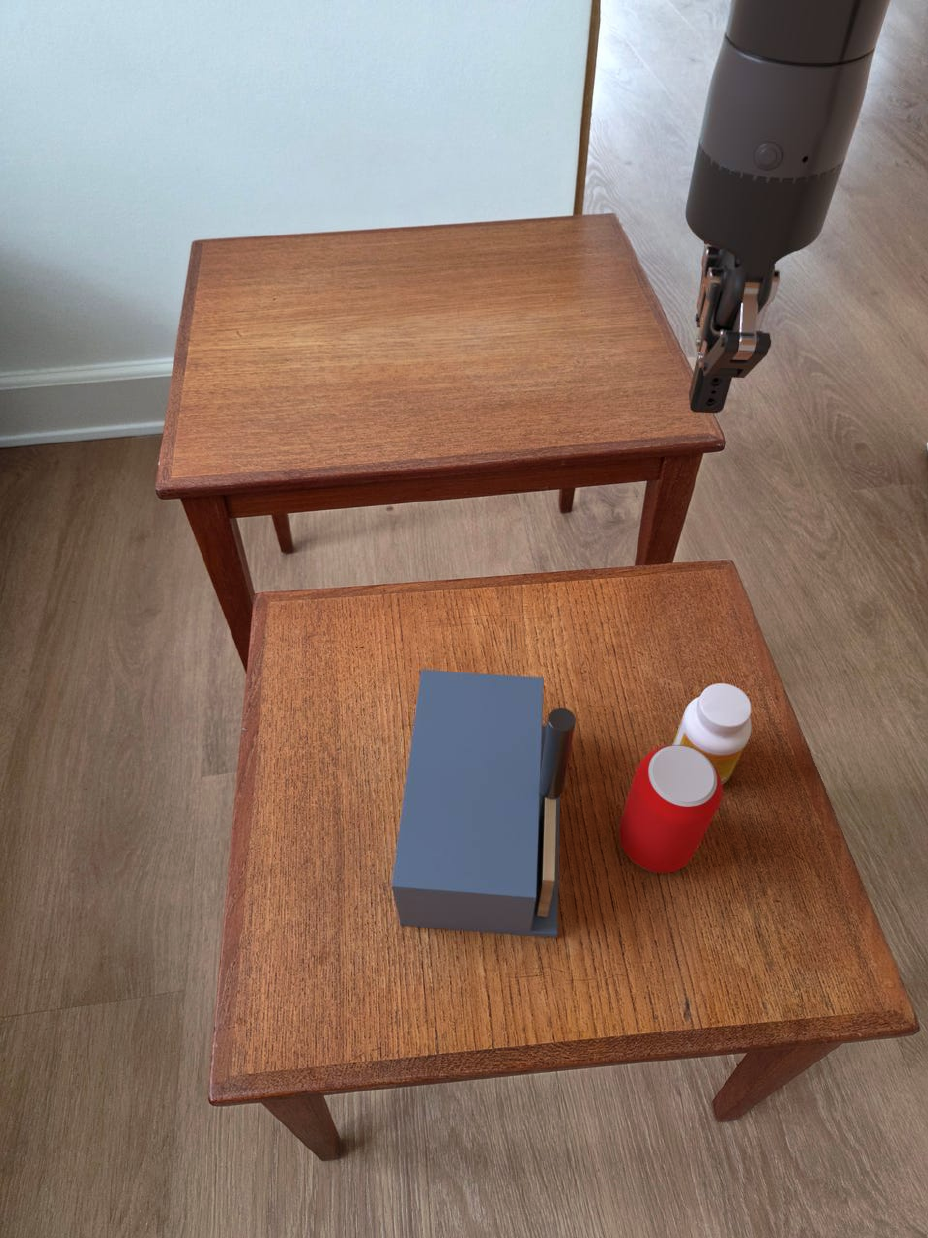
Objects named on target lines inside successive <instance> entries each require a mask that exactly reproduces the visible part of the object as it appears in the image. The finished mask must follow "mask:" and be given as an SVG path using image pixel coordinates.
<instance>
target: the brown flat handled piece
mask: <svg viewBox="0 0 928 1238" xmlns="http://www.w3.org/2000/svg"><path fill="white" fill-rule="evenodd" d="M546 721H547V722H546V725H547V729H546V737H545V744H544V752H543V760H542V768H541V776H540V783H539V790H540V793H541V794H542V795H543V798H542V805H541V812H540V838H539V868H538V899H537V916H543V917H547V916H548V911H549V906H550V901H551V896H552V891H553V886H554V881H555V844H556V798H558V797H560V798H561V796H562V795H563V793H564V790H565V784H566V778H567V773H568V767H569V764H570V763H569V762H570V757H571V751H572V747H573V746H572V745H573V740H574V735H575V730H576V724H577V718H576V715H575V714H574V712H573V711H571V710H570V709H568V708H566V707H556V708H554V709H552V710H551V711H550V712H549V713H548V716H547V720H546Z"/></svg>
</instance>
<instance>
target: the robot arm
mask: <svg viewBox="0 0 928 1238" xmlns="http://www.w3.org/2000/svg"><path fill="white" fill-rule="evenodd" d="M890 3H891V0H730V4H729V9H728V14H727V19H726V25H725V31H724V33H723V39H722V42H721V47H720V50H719V53H718V56H717V59H716V62H715V65H714V67H713V71H712V75H711V78H710V82H709V86H708V90H707V95H706V100H705V106H704V110H703V111H704V112H703V116H702V122H701V127H700V133H699V137H698V142H697V148H696V152H695V158H694V164H693V169H692V174H691V180H690V184H689V190H688V195H687V199H686V205H685V212H684V213H685V220H686V223H687V225H688V227H689V229H690V230H691V232H692V233H693V234H694V235H695V236H696V237H697V238H698V239H700V240H701V241H702V242H703V244H704V246H703V252H702V257H701V262H700V265H701V276H700V285H699V292H698V297H697V303H696V311H697V312H696V314H695V319H694V320H695V323H696V328H699V330H698V331H699V332H698V334H697V337H696V339H695V347H696V352H697V357H696V361H695V365H694V369H693V373H692V378H691V383H690V387H689V391H688V398H689V399H688V400H689V408H690V411H691V412H693V413H694V414H695V413H697V414H719V413H721V412H723V410H724V408H725V405H726V400H727V397H728V394H729V390H730V387H731V384H732V379H745V378H746V376H748V375H749V374H750V373H751V371H753V370H754V368H756V366H757V365H758V364H759V363H760V362H762V360H763V359H764V358H765V357H766V356H767V355H768V354H769V351H770V349H771V347H772V339H771V333H770V332H765V331H764V330H761V328H762V324H763V322H764V318H765V315H766V312H767V310H768V306H769V305H770V304H771V303H772V302H773V301H774V300H775V299H776V295H777V292H778V289H779V286H780V281H781V271H780V270H781V269H779V268H776V264H777V263H778V262H779V261H780V260H782V259H783V258H785V257H787V256H788V255H789V256H790V255H791V254H793V253H795V252H798V251H801V250H803V249H805V248H807V247H808V246H810V245H811V244H812V243H813V242H814V241H816V239H818V237H819V236H820V234H821V232H822V231H823V227H824V225H825V221H826V220H827V219H826V218H827V215H828V212H829V210H830V206H831V203H832V200H833V197H834V194H835V191H836V188H837V185H838V181H839V178H840V175H841V172H842V169H843V167H844V163H845V160H846V157H847V154H848V150H849V147H850V145H851V141H852V139H853V136H854V132H855V130H856V126H857V124H858V121H859V118H860V114H861V111H862V109H863V105H864V101H865V97H866V93H867V89H868V83H869V78H870V71H871V67H872V62H873V58H874V54H875V50H876V47H877V43H878V40H879V38H880V34H881V31H882V27H883V24H884V22H885V18H886V16H887V12H888V10H889V9H888V8H889V7H890Z"/></svg>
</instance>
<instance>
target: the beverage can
mask: <svg viewBox="0 0 928 1238" xmlns="http://www.w3.org/2000/svg"><path fill="white" fill-rule="evenodd" d="M722 799H723V784H722V782H721V778H720V775H719V773H718V771H717V769H716V768H715V766H714V765H713V763H712V762H711V761H710V760H709V759H708V758H707V757H706V756H705V755H704V754H702V753H701V752H699V751H698V750H696V749H694V748H691V747H688V746H684V745H672V744H668V745H664V746H663V745H662V746H660V747H656V748H655V749H653V750H651V751H649V752H648V753H647V754H646V755H645V756H644V757H643V758H642V759H641V761H640V762H639V764H638V766H637V768H636V770H635V774H634V777H633V780H632V783H631V787H630V789H629V793H628V796H627V799H626V802H625V805H624V808H623V812H622V815H621V818H620V820H619V826H618V837H619V838H618V839H619V841H620V845H621V846H622V849H623V851H624V852H625V854H626V856H627V857H628V858H629V859H630V860H631V861H632V862H633V863H634V864H636V865H637V866H638V867H640V868H641V869H643V870H645V871H648V872H651V873H655V874H670V873H674V872H677V871H679V870H681V869H682V868H684V867H685V866H686V865H687V864H688V863H690V862H691V860H692V859H693V857H694V855H695V854H696V852H697V850H698V848H699V846H700V843H701V842H702V840H703V838H704V836H705V834H706V832H707V831H708V828H709V827H710V825H711V823H712V821H713V819H714V817H715V816H716V813H717V811H718V810H719V807H720V805H721V803H722Z"/></svg>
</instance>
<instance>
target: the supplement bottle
mask: <svg viewBox="0 0 928 1238" xmlns="http://www.w3.org/2000/svg"><path fill="white" fill-rule="evenodd" d="M751 715H752V703H751V701H750V698H749V697H748V696H747V694H746V693H745V692H744V691H743V690H742V689H740V688H739V687H737V686H735V685H733V684H730V683H726V682H725V683H723V682H719V683H713V684H710V685H708V686H707V687H705V689H704V690H703V691H702V692H701V694H700V696H698V697H697V696H696V697H695V698H694V699H693V700H692V701H691V702H689V704H688V705H687V706H686V708H685V710H684V712H683V715H682V718H681V720H680V722H679V725H678V728H677V730H676V733H675V736H674V739H673V741H672V743H671V745H684V746H688V747H691V748H694V749H696V750H698V751H699V752H701V753H702V754H704V755H705V756H706V757H707V758H708V759H709V760H710V761H711V762H712V763H713V765H714V766H715V768H716V769H717V771H718V773H719V775H720V778H721V782H722V785H724V784H725V783H727V781H728V780H729V779H730V777H731V775H732V773H733V772H734V770H735V767H736V766H737V764H738V761H739V759H740V757H741V755H742V754H743V751H744V749H745V748H746V746H747V744H748V742H749V740H750V738H751V736H752V729H753V728H752V727H753V725H752V720H751Z"/></svg>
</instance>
